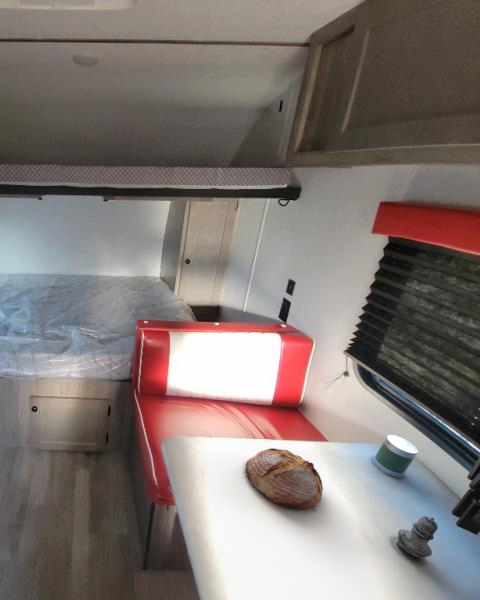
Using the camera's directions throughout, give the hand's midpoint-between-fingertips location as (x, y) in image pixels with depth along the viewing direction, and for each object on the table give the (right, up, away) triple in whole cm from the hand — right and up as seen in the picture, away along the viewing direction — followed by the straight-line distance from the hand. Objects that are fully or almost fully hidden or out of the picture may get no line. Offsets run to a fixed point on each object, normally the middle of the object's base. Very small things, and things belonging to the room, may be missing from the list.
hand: (463, 522), depth 65 cm
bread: (-19, -8, +28) cm, 34 cm away
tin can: (+20, -8, +37) cm, 43 cm away
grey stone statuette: (+2, -16, +14) cm, 21 cm away
